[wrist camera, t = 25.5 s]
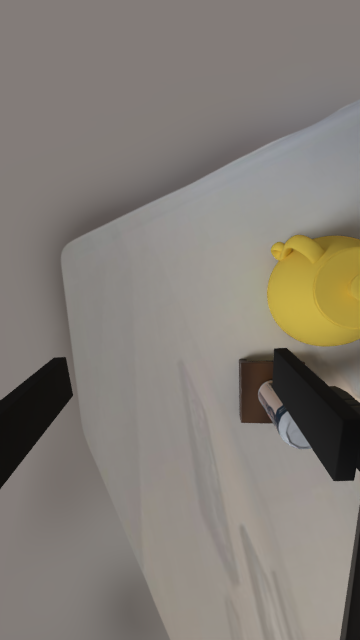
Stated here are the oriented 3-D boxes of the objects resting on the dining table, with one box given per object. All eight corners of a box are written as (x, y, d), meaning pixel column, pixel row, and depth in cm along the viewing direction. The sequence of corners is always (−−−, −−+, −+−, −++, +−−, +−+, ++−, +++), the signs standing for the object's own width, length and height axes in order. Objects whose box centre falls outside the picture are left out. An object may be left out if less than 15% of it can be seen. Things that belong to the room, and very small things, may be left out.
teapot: (314, 363, 40) (365, 389, 27) (233, 284, 41) (246, 274, 28) (409, 276, 38) (512, 260, 25) (322, 194, 39) (380, 139, 26)
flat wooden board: (239, 415, 42) (241, 422, 39) (238, 359, 41) (240, 362, 39) (298, 417, 41) (304, 424, 38) (298, 359, 40) (305, 362, 38)
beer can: (251, 397, 39) (272, 437, 27) (268, 373, 38) (297, 403, 27) (277, 413, 39) (309, 461, 27) (294, 389, 38) (335, 427, 26)
